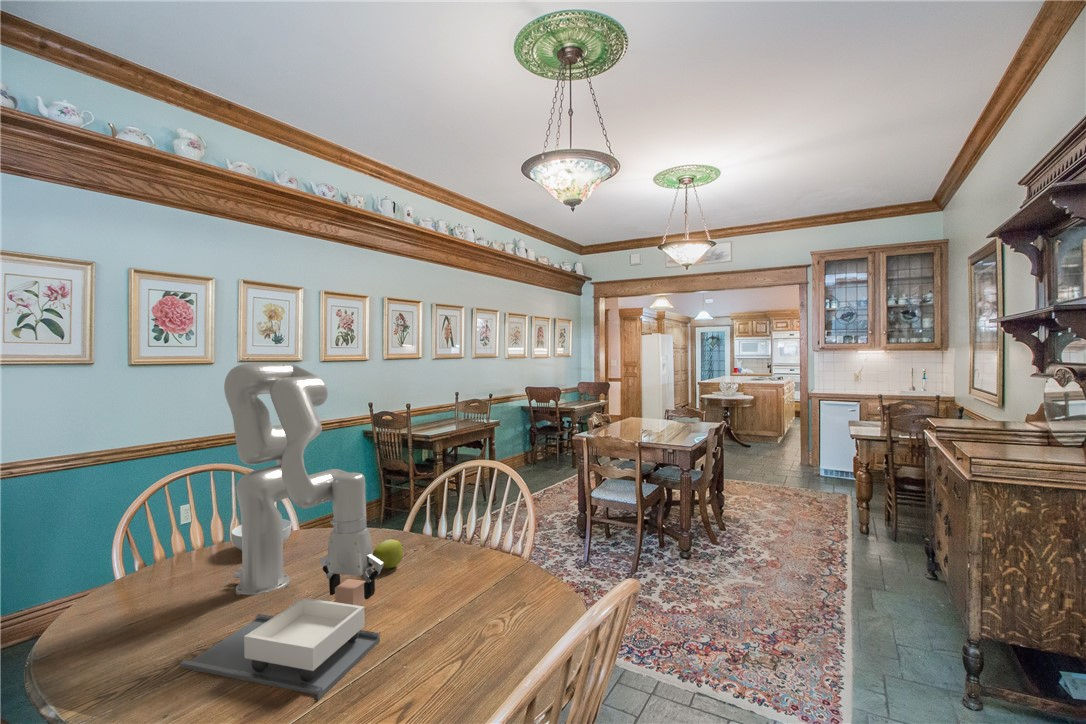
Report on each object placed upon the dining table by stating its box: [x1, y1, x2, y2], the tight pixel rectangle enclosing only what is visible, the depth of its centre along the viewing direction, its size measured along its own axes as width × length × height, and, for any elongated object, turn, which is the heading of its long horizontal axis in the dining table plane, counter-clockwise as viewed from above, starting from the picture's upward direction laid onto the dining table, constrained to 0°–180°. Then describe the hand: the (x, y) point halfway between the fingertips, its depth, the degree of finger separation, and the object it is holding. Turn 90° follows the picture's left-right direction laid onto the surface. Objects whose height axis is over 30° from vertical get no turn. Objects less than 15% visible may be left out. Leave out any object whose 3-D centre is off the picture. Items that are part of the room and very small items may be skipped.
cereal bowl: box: [230, 518, 293, 551], centre depth 160 cm, size 17×17×7 cm
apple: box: [373, 538, 404, 570], centre depth 144 cm, size 8×9×8 cm
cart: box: [244, 597, 366, 682], centre depth 101 cm, size 16×16×7 cm
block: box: [334, 578, 367, 606], centre depth 121 cm, size 5×5×6 cm
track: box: [179, 613, 381, 701], centre depth 102 cm, size 32×19×2 cm, turn 75°
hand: (352, 594), depth 121 cm, fingers open, 9 cm apart
